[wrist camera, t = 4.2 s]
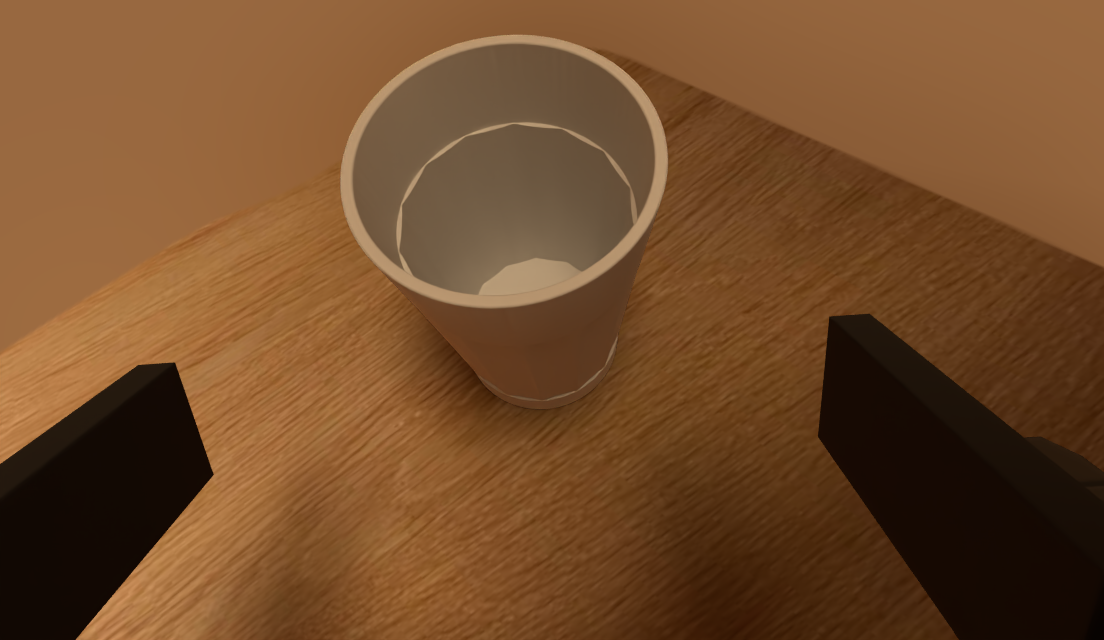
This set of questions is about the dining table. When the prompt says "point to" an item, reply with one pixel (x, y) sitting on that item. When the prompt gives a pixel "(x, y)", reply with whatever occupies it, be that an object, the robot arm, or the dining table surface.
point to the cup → (511, 205)
